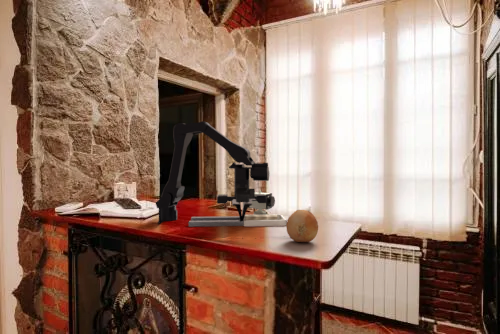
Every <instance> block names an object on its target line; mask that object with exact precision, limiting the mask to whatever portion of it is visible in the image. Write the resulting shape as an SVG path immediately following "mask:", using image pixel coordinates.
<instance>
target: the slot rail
mask: <svg viewBox="0 0 500 334" xmlns="http://www.w3.org/2000/svg"><path fill="white" fill-rule="evenodd" d="M243 226H244V220H240V216H239V215H237V216H236V215H233V216H231V215H230V216H229V215H226V216H221V215H220V216H219V215H218V216H191V218H190V220H189V221H188V227H190V228H192V227H199V228H200V227H243ZM244 227H245V226H244Z"/></svg>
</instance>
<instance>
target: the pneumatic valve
mask: <svg viewBox="0 0 500 334" xmlns="http://www.w3.org/2000/svg"><path fill="white" fill-rule="evenodd" d="M256 194H264V195H265V196H266V197H267V203H258V202H257V201H252V202H251V203H252V205H251V206H249V207H248V209H255V211H253V214H252V215H260V214H268V213H267V212H266V210H270V209H272V208H274V206H275V204H276V200H275V199H276V198H275V196H273V193H269V192H262V190H259V191H258V192H257V191H256V192H255V195H256Z"/></svg>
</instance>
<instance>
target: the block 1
mask: <svg viewBox="0 0 500 334" xmlns="http://www.w3.org/2000/svg"><path fill="white" fill-rule="evenodd" d="M245 220H256V215H253V214H245Z"/></svg>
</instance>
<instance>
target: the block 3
mask: <svg viewBox="0 0 500 334" xmlns="http://www.w3.org/2000/svg"><path fill="white" fill-rule="evenodd" d="M266 216H267V220H277V215H266Z"/></svg>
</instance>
